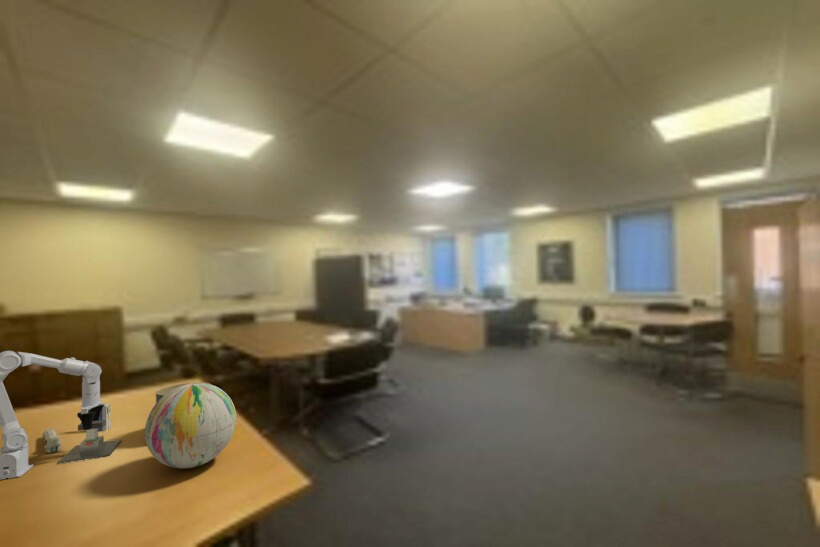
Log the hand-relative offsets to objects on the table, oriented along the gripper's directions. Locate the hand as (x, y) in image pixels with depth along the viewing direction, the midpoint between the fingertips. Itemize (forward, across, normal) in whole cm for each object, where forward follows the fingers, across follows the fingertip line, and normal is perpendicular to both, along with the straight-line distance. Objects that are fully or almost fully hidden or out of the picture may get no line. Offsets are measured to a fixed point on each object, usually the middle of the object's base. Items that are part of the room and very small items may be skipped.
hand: (91, 426), depth 161 cm
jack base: (+10, 0, 0) cm, 10 cm away
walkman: (+11, +29, +6) cm, 31 cm away
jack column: (+6, 0, 0) cm, 6 cm away
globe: (+11, -30, -40) cm, 51 cm away
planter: (+11, +8, -32) cm, 35 cm away
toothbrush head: (+11, +17, +19) cm, 28 cm away
